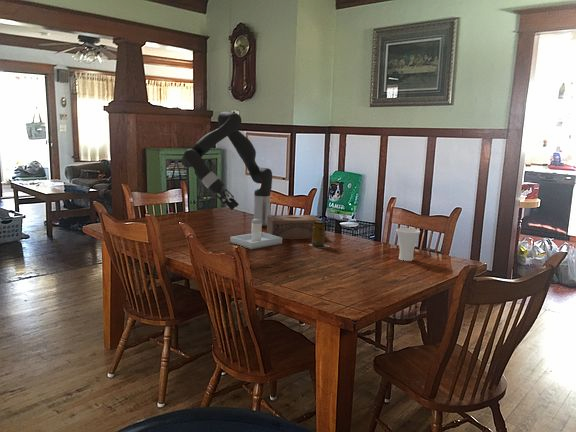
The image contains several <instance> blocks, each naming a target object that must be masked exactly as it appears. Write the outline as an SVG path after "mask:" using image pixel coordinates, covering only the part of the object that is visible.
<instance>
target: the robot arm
mask: <svg viewBox="0 0 576 432" xmlns="http://www.w3.org/2000/svg"><path fill="white" fill-rule="evenodd" d="M217 123H218V126H219V127H218V128H217V129H215V130H212V131H210V132H207V134H205V135H203V136H202V137H201V138H200V139H199V140H197V141H196V143H195V144H194V145H193V147H192V148H188V149H186V150H185V151H184V153H183V154H182V157H181V164H182V165H183V166H184V167H186V168H193V171H194V174H195V176H196V177H197V178H198V179H199V180H200V182H202V184H203V185H204V186H205V187H206V188H207V190H208V191H209V192H211V194H212V195H214V196H216V198H217V199H219V201H220V202H221V203H222V204H223V205H226V206H227V207H228V208H229V209H230V211H233V210H234V209H235V208H237V207H239V203H238V201H236V199H235V197H234V195H233V194H232V193H231V192H230V191H229V190H228V189H227V188H225V189H224V187H225V185H226V184H225V183H224V182H223V181H222V180H221V178H219V176H218V175H216V173H214V172H213V171H212V170H211V169H210V167H209V166H207V165H206V163H205V161H204V159H203V156H205V155H206V154H207V153H208V152H209V151H210V150H211V149H213V148H214V147H215V146H216V145H217V144H218V143H220V142H221V141H222V140H224V139H225V138H228V140H229V141H230V143H231V145H233V147H234V148H235V151H236V152H237V154H238V156H239V157H240V158H241V161H242V162H243V164H244V165H245V167H246V169H247V171H248V173H249V175H250V178H251V180H252V181H253V182H254V183H256V184H260V188H258V189H255V190H254V195H253V197H254V198H253V199H254V200H253V219H261V220H262V227H263V226H264V227H265V226H266V227H267V215H272V208H271V192H272V185H273V172H272V169H270V168H267V167H260V166H259V165H258V163H257V162H256V155H257V152H256V148H255V146H254V145H253V143H252V141H251V140H250V139H249V138H248V137H247V136H245V134H243V133H242V132H241V131H240V130H239V128H241V125H242V116H241V115H240V114H238V113H236V112H232V111H221V112H220V113H219V114H218V117H217Z"/></svg>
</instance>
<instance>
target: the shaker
mask: <svg viewBox="0 0 576 432" xmlns="http://www.w3.org/2000/svg"><path fill="white" fill-rule="evenodd" d="M262 228H263V226H262V220H261V219H254V218H252V219H251V230H250V232H251V233H250V234H251V242H257V241H261V232H263V231H262V230H263V229H262Z"/></svg>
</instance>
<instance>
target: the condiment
mask: <svg viewBox="0 0 576 432" xmlns="http://www.w3.org/2000/svg"><path fill="white" fill-rule="evenodd" d="M325 233H326V228H325V222H324V221H323V220H321V221H315V222H314V227H313V236H312V238H311V241H312V242H311V243H309V244H308V245H309V246H311V247H315V248H319V249H323V248H330V247H331V246H330V245H328V244H325V239H326V238H325V236H326V235H325Z"/></svg>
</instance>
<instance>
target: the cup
mask: <svg viewBox="0 0 576 432" xmlns="http://www.w3.org/2000/svg"><path fill="white" fill-rule="evenodd" d="M420 233H421V231H420V229H415V228H412V227H411V228H409V227H400V228H399V227H398V228H396V234H397V238H398V244H399V254H398V260H400V261H403V260H404V261H403V262H412V260H413V261H414V252H415V247H416V243H417V241H418V238H419V235H420Z"/></svg>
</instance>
